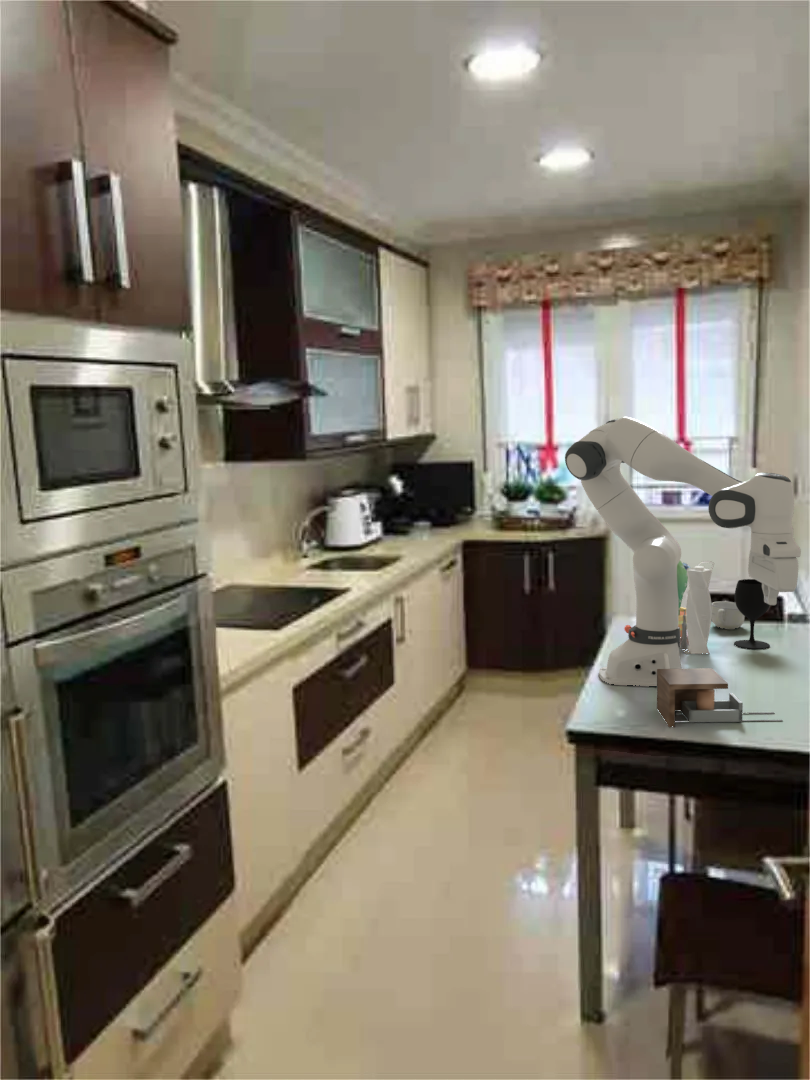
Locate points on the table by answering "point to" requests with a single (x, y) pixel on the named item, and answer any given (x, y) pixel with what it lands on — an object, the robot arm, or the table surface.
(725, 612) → the teacup
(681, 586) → the potted cactus
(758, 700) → the table surface
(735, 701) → the tray
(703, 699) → the peach cylinder
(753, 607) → the wine glass
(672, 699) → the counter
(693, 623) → the skyscraper
